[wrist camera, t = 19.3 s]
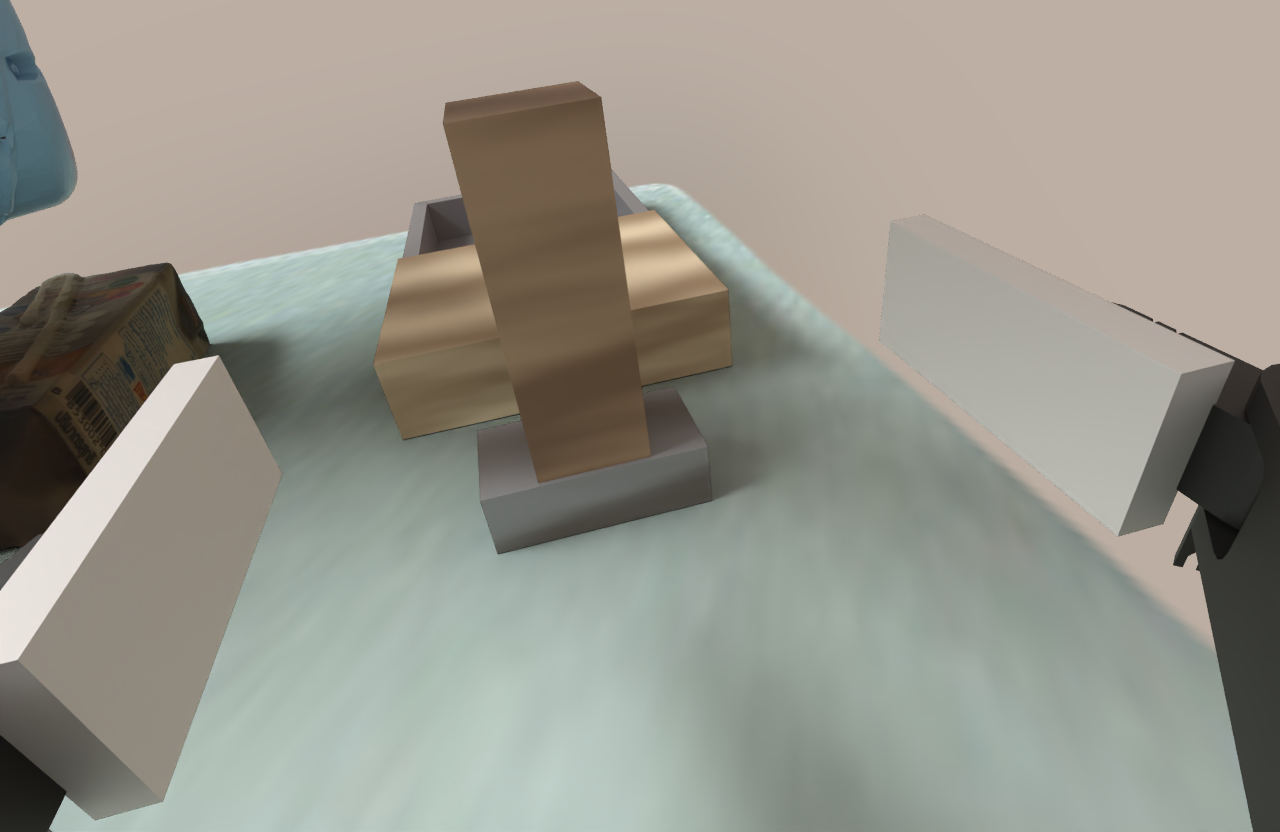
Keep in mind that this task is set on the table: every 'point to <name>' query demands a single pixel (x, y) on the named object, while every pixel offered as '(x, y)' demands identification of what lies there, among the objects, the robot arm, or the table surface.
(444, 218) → the tray
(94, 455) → the beverage carton
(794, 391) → the table surface
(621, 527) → the table surface
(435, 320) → the board
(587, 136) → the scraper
